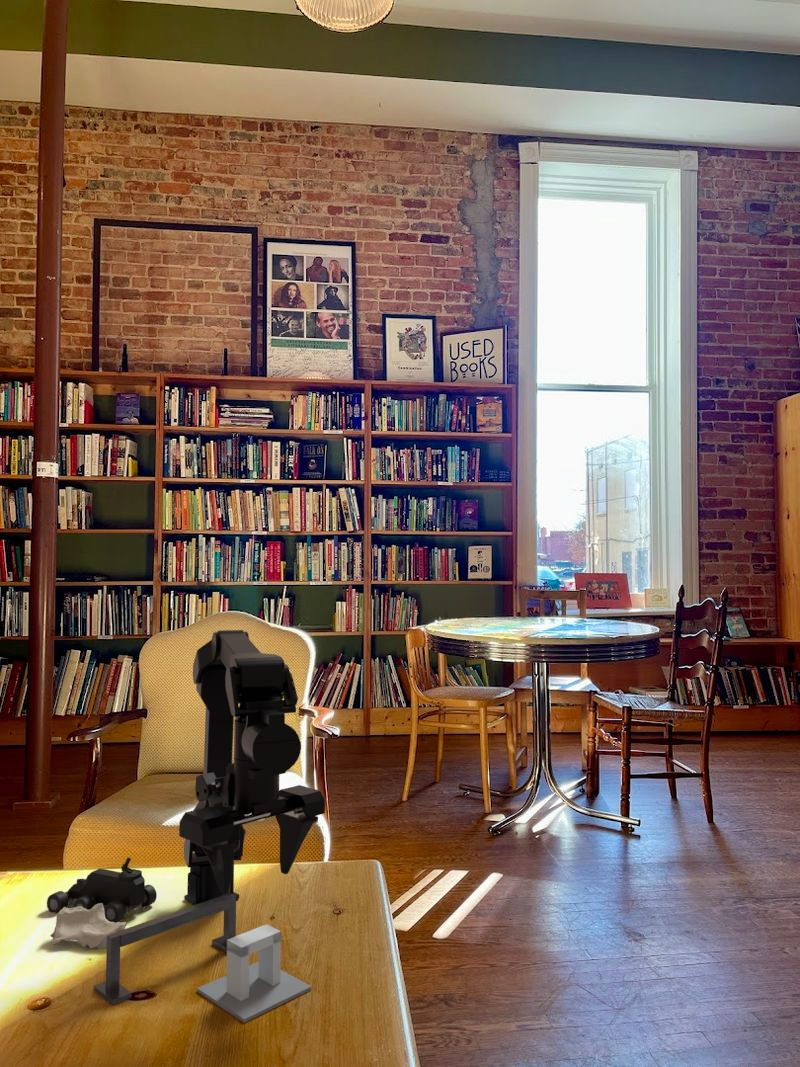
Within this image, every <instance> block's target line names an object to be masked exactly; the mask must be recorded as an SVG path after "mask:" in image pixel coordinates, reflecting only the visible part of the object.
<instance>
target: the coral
mask: <svg viewBox="0 0 800 1067" xmlns="http://www.w3.org/2000/svg"><path fill="white" fill-rule="evenodd" d="M104 908H105V906H104V905H103V903H99V904H96V905H94V907H93V908H92V909H90V910H87V909H85V908H83V907H82V906H77V907H74V908H73V907H71V908H69V907H67V908H66V907H64V908H63V909H62V910H60V912H58V913H56V921H55V922H56V923H55V927H54V930H53V932H52V933H51V934H50V935H49V936H50V937H51V938H52V943H51V945H56V944H58V943H63V942H69V941H76V942H77V943H79V944H80V945H81V946H82V947H85V948H86V946H88V947H89V948H90V949H94V948H97V949H99V950H102V949H105V948H106V949H107V935H110V934H113V933H116V932H118V931H121V930H124V929H126V927H127V922H126V921H122V922H121V921H120V922H117V923H115V922H110V921H108V920H107V919H106V918H105V911H104Z"/></svg>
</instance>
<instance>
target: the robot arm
mask: <svg viewBox="0 0 800 1067" xmlns="http://www.w3.org/2000/svg"><path fill="white" fill-rule="evenodd" d="M211 636H212V637H211V640H209V641H208V642H206V643H205V644H203V645H202V646H201V647H199V648H198V649H197V650H196V652H195V655H194V659H193V660H194V661H193V664H192V680H193V684H194V685H195V688H196V692H197V695H198V696H199V698H201V701H202V703H204V706H205V720H204V721H205V722H204V749H203V750H204V751H203V774H199V775H197V776H195V777H196V778H195V787H194V788H195V797H196V800H197V801H198V802H197V804H196V805H195V807H194V808H193V810H191V811H186V812H184V814H183V815H182V817H181V818H180V821H179V828H178V829H179V830H178V832H179V834H178V836H179V837H181V839H184V842H183V859H184V861H185V864H186V866H187V868H189V872H188V873H187V886H186V887H187V891H186V892H187V894H185V895H184V896H183V900H185V901H187V902H189V903H191V904H192V905H197V904H200V903H203V902H205V901H208V900H211V899H214V898H217V897H220V896H223V895H227V894H230V893H232V894H235V895H236V900H238V899H240V894H239V893H237V892H235V891H234V888H235V886H234V884H235V883H234V882H235V874H234V873H235V861H241V860H242V857H244V851H243V850H244V844H245V837H246V833H247V832H246V829H245V828H244V826H243V825H245V824H249V823H253V822H254V823H255V822H258V821H260V820H264V819H268V818H273V817H275V819H276V822H277V825H278V827H279V864H280V865H279V866H280V873H282V874H283V875H287V874H290V870H291V868H292V866H293V864H294V862H295V860H296V858H297V856H298V853H299V851H300V849H301V847H302V845H303V842H305V839H306V837H307V835H308V834H309V832H310V830H311V828H312V827H313V825H314V824H315V823H317V822H318V821H319V816H320V815H323V814H326V797H325V796H324V794H323V792H322V791H321V790H318V789H315V788H311V787H307V786H304V785H301V784H298V785H294V786H291V787H287V788H282V789H280V775H283V774H286V773H287V771H288V770H290V769H291V768H292V767H293V766H294V765H295V764H296V762H297V761H299V757H300V756H301V751H302V744H301V742H302V741H301V740H300V736H299V734H298V732H297V731H296V730H295V729H294V728H293V727H292V726H291V725H289V724H287V723H285V722H286V721H285V720H286V718H285V717H286V715H285V714H294V713H296V712H297V704H298V699H299V696H298V693H297V690H296V686H295V681H294V677H293V674H292V672H291V671H290V668H289V665H288V664H286V663H285V661H284V659H283V657H282V656H280V655H278V654H275V653H274V654H273V653H264V652H261V651H260V650H259V648H257V647H256V645H255V644H254V643H253V642H252V641H251V639H250V636H249V633H248V631H244V630H243V629H230V630H229V629H227V630H226V629H225V630H217V631H215V632H213V633H212V635H211Z"/></svg>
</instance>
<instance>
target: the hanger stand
mask: <svg viewBox="0 0 800 1067" xmlns="http://www.w3.org/2000/svg"><path fill="white" fill-rule="evenodd" d="M220 912H223V935H221V936H219V937H216V938H214V939H212V940H211V945H212V946H214V947H216V948H217V949H220V951H222V952H225V953H226V954H227V940H228V939H230V938H233V937H235V936H237V934H236V933H237V932H236V931H237V899H236V895H235V894H232V893H230V894H227V895H223V896H220V897H217V898H214V899H211V900H208V901H205V902H203V903H200V904H197V905H195V904H193V905H191V906H188V907H186V908H182V909H179V910H177V911H174V912H171V913H168V914H165V915H162V916H159V917H155V918H153V919H150V920H147V921H145V922H141V923H138V924H136V925H135V924H134V925H133V926H130V927H125V929H124V930H121V931H118V932H116V933H113V934H110V935H107V948H106V950H105V951H106V955H105V956H106V957H105V981H102V982H100V983H97V984H95V985H93V992H94V993H96V994H97V995H98V996H100V997H101V998H102V999H103V1000H105V1001H106V1002H107V1003H108V1004H110V1005H111V1006H116V1005H119V1004H120V1003H122V1002H125V1001H127V1000H130V999H132V992H131V991H130V990H128V989H127V988H126V987H124V986H123V985H122V984H121V983H120V980H121V979H120V978H121V976H120V974H121V948H123V947H125V946H129V945H131V944H134V943H137V942H140V941H143V940H145V939H148V938H152V937H154V936H156V935H159V934H161V933H162V934H163V933H165V932H167V931H171V930H173V929H176V928H178V927H182V926H185V925H187V924H189V923H192V922H196V921H198V920H200V919H201V920H202V919H204V918H207V917H210V916H212V915H215V914H218V913H220Z"/></svg>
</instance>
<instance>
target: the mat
mask: <svg viewBox="0 0 800 1067" xmlns="http://www.w3.org/2000/svg"><path fill="white" fill-rule="evenodd" d="M258 967H259V961H256V962H253V963H252V964H249V997H248V998H246V999H244V1000H242V1001H240V1000H238V999H237V998H235V997H234V996H232V995H230V994H229V993H227V992H226V982H227V974H226V975H224V976H222V977H219V978H217V979H214V980H212V981H210V982H208V983H205V984H203V985H201V986H198V987H197V988H196V992H197V993H199V994H200V995H201V996H202V997H205V998H207V1000H209V1001H210V1002H212V1003H213V1004H215V1005H216V1006H218V1007H220V1009H222V1010H224V1011H226V1012H227V1013H228V1014H230V1015H232V1016H234V1017H235V1018H236V1019H238V1020H239V1021H241V1022H242V1023H244V1024H245V1023H247V1022H249V1021H251V1020H253V1019H255V1018H257V1017H259V1016H261V1015H263V1014H265V1013H267V1012H269V1011H271V1010H273V1009H275V1008H277V1007H279V1006H281V1005H284V1004H285V1003H287V1002H290V1001H292V1000H293V999H296V998H297V997H300V996H301V995H303V994H306V993H308V992H310V991H311V990H312V985H309V984H308V983H306V982H304V981H302V979H299V978H297V977H295V976H293V975H292V974H290V973H288V972H286V971H285V970H282V969H281V982H280V983H278V984H276V985H274V986H272V985H270V984H269V983H267V982H265V981H264V980H262V979H260V978H258Z"/></svg>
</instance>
